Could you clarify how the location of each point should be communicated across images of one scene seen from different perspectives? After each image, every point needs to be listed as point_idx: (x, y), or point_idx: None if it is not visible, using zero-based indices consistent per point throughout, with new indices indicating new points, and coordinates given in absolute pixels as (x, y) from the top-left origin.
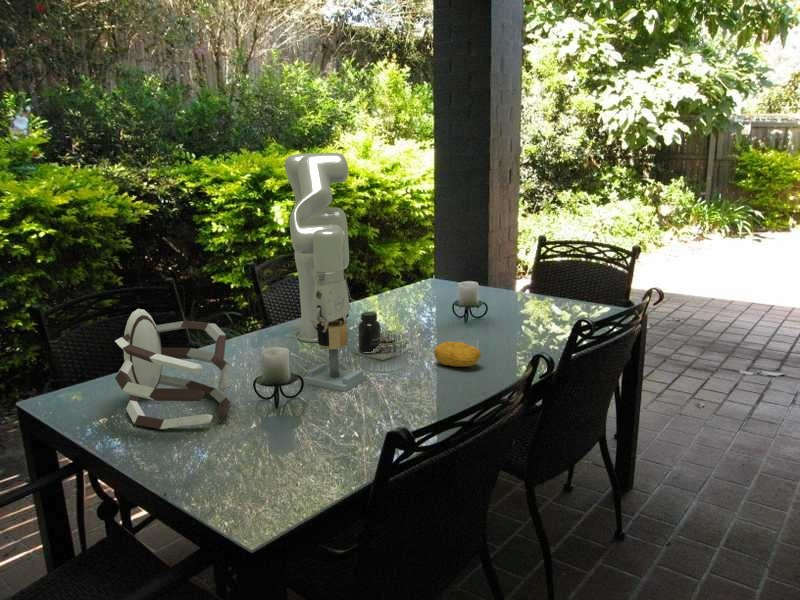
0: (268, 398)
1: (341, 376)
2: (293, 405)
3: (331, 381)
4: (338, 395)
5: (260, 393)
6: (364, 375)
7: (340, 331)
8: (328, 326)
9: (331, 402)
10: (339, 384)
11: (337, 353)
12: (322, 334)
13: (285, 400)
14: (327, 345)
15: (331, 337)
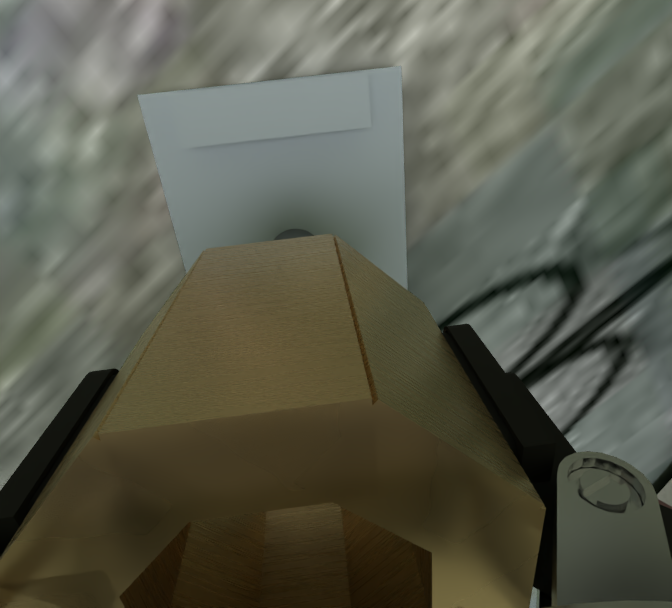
0: (619, 341)
1: (275, 218)
2: (663, 187)
3: (372, 211)
4: (453, 68)
5: (582, 402)
6: (159, 96)
7: (342, 334)
8: (469, 550)
9: (563, 23)
10: (387, 129)
11: None
12: (569, 454)
13: (618, 266)
14: (468, 328)
15: (443, 362)
